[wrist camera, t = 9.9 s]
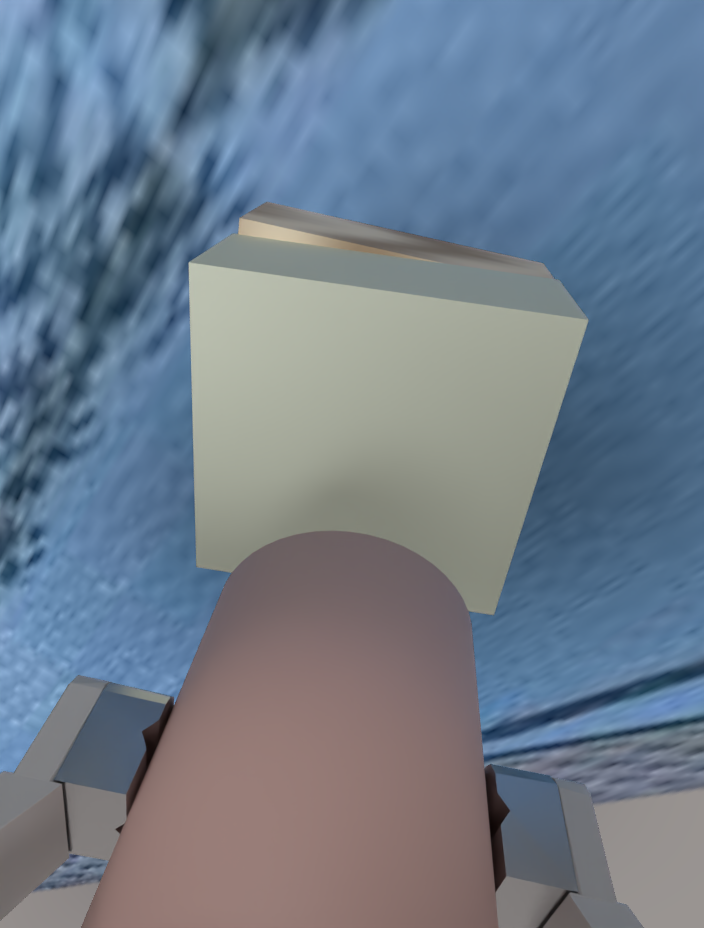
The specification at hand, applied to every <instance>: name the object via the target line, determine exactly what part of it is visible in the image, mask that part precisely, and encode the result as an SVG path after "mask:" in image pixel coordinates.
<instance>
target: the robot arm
mask: <svg viewBox="0 0 704 928" xmlns="http://www.w3.org/2000/svg"><path fill="white" fill-rule="evenodd" d="M173 707H174V697H173V696H169V695H164V694H160V693H155V692H151V691H147V690H142V689H138V688H134V687H129V686H125V685H120V684H116V683H112V682H109V681H104V680H100V679H95V678H90V677H86V676H81V675H78V676H77V677H76V678H75V679H74V680H73V681H72V682H71V683H70V684H69V685H68V686H67V688H66V690H65V691H64V693H63V694H62V696H61V698H60V699H59V701H58V702H57V704H56V706H55V707H54V709H53V710H52V712H51V714H50V715H49V717H48V718H47V720H46V722H45V723H44V725H43V727H42V728H41V730H40V731H39V733H38V735H37V736H36V738H35V739H34V741H33V743H32V744H31V746H30V747H29V749H28V751H27V752H26V754H25V755H24V757H23V759H22V760H21V762H20V764H19V765H18V767H17V768H16V770H15V772H14V773H12V772H6V771H3V772H2V773H0V921H1V920H2V919H3V918H4V917H5V916H6V915H7V914H8V913H9V912H10V911H12V909H14V907H16V906H17V905H18V904H19V903H20V902H21V901H22V900H23V899H24V898H26V897H27V896H28V895H29V894H30V893H31V892H32V891H33V890H34V889H35V888H37V887H38V886H39V885H40V884H41V883H42V882H43V881H44V880H45V879H46V878H47V877H49V876H50V875H51V874H52V873H53V872H54V871H55V870H56V869H57V868H58V867H59V866H60V865H62V864H63V863H64V862H65V861H66V860H67V859H68V858H69V853H70V854H76V855H81V856H87V857H92V858H98V859H103V860H110V857H111V855H112V852H113V850H114V848H115V845H116V843H117V841H118V838H119V836H120V833H121V831H122V829H123V826H124V824H125V821H126V819H127V817H128V814H129V812H130V810H131V807H132V805H133V802H134V800H135V798H136V795H137V793H138V790H139V788H140V786H141V783H142V781H143V779H144V776H145V774H146V771H147V769H148V767H149V764H150V762H151V759H152V757H153V755H154V752H155V750H156V748H157V745H158V743H159V740H160V738H161V736H162V733H163V731H164V728H165V726H166V724H167V721H168V719H169V717H170V714H171V712H172V709H173ZM484 770H485V781H486V792H487V804H488V815H489V826H490V837H491V849H492V860H493V871H494V882H495V894H496V905H497V916H498V927H499V928H644V927H643V926H642V925H641V923H640V922H639V921H638V919H637V918H636V916H635V915H634V914H633V912H632V911H631V910H630V909H629V907H628V906H627V905H626V904H622V903H618V902H617V900H616V896H615V892H614V888H613V884H612V880H611V876H610V872H609V868H608V864H607V860H606V856H605V851H604V847H603V843H602V839H601V835H600V831H599V827H598V823H597V819H596V815H595V811H594V807H593V803H592V799H591V795H590V792H589V790H588V789H587V787H586V786H585V785H584V784H582V783H579V782H573V781H568V780H563V779H558V778H553V777H550V776H549V775H544V774H539V773H533V772H528V771H523V770H518V769H513V768H508V767H503V766H498V765H493V764H490V765H488V766H486V767H485V769H484Z"/></svg>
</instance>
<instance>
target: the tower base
mask: <svg viewBox="0 0 704 928" xmlns="http://www.w3.org/2000/svg"><path fill="white" fill-rule="evenodd" d="M238 234H240V235H247V236H254V237H261V238H268V239H275V240H282V241H289V242H296V243H303V244H310V245H317V246H324V247H331V248H339V249H346V250H353V251H360V252H367V253H374V254H381V255H388V256H395V257H402V258H409V259H416V260H423V261H430V262H437V263H444V264H452V265H459V266H466V267H473V268H480V269H487V270H494V271H501V272H508V273H515V274H522V275H529V276H536V277H543V278H550V279H554V278H553V276H552V275H551V273H550V272H549V271H548V269H547V268H546V266H545V265H544V264H543V263H540V262H535V261H531V260H526V259H522V258H517V257H513V256H508V255H504V254H499V253H495V252H490V251H486V250H481V249H477V248H472V247H468V246H463V245H459V244H454V243H450V242H445V241H441V240H436V239H432V238H427V237H423V236H418V235H414V234H409V233H405V232H400V231H396V230H391V229H387V228H382V227H378V226H373V225H369V224H364V223H360V222H355V221H351V220H346V219H342V218H337V217H333V216H328V215H324V214H319V213H315V212H310V211H306V210H301V209H297V208H292V207H288V206H283V205H279V204H274V203H270V202H266V203H264V204H262V205H261V206H259V207H257V208H255V209H254V210H252V211H250V212H249V213H247V214H245V215H244V216H242V217H240V220H239V231H238Z"/></svg>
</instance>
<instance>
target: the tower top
mask: <svg viewBox="0 0 704 928" xmlns="http://www.w3.org/2000/svg"><path fill="white" fill-rule="evenodd" d="M189 294H190V334H191V373H192V413H193V452H194V492H195V531H196V567H200V568H206V569H212V570H218V571H224V572H231V573H232V572H233V571H234V570H235V569H236V567H237V566H238V565H239V564H240V563H241V562H242V561H243V560H244V559H246V558H247V557H248V556H249V555H251V554H252V553H253V552H255V551H257V550H258V549H260V548H262V547H263V546H265V545H267V544H270V543H272V542H274V541H277V540H279V539H282V538H285V537H289V536H292V535H296V534H302V533H308V532H315V531H347V532H355V533H361V534H367V535H371V536H375V537H379V538H382V539H386V540H389V541H391V542H394V543H396V544H399V545H401V546H404V547H406V548H408V549H410V550H411V551H413V552H415V553H417V554H419V555H420V556H422V557H423V558H425V559H426V560H428V561H429V562H431V563H432V564H433V565H435V566H436V567H437V568H438V569H439V570H440V571H441V572H442V573H444V574H445V575H446V576H447V578H448V579H449V580H450V581H451V582H452V583H453V585H454V586H455V587H456V589H457V590H458V592H459V593H460V595H461V596H462V598H463V600H464V602H465V605H466V607H467V609H468V611H471V612H477V613H483V614H489V615H494V613H495V610H496V607H497V604H498V600H499V597H500V594H501V591H502V588H503V585H504V582H505V579H506V576H507V572H508V569H509V566H510V563H511V560H512V557H513V554H514V551H515V548H516V544H517V541H518V538H519V535H520V532H521V529H522V526H523V523H524V520H525V516H526V513H527V510H528V507H529V504H530V501H531V498H532V495H533V492H534V488H535V485H536V482H537V479H538V476H539V473H540V470H541V467H542V464H543V460H544V457H545V454H546V451H547V448H548V445H549V442H550V439H551V436H552V432H553V429H554V426H555V423H556V420H557V417H558V414H559V411H560V408H561V404H562V401H563V398H564V395H565V392H566V389H567V386H568V383H569V380H570V376H571V373H572V370H573V367H574V364H575V361H576V358H577V355H578V352H579V348H580V345H581V342H582V339H583V336H584V333H585V330H586V327H587V324H588V318H587V317H586V316H585V314H584V313H583V312H582V310H581V309H580V308H579V306H578V305H577V303H576V302H575V301H574V299H573V298H572V297H571V295H570V294H569V293H568V291H567V290H566V289H565V287H564V286H563V284H562V283H561V282H560V280H557V279H550V278H543V277H536V276H529V275H522V274H515V273H508V272H501V271H494V270H487V269H480V268H473V267H466V266H459V265H452V264H444V263H437V262H430V261H423V260H416V259H409V258H402V257H395V256H388V255H381V254H374V253H367V252H360V251H353V250H346V249H339V248H331V247H324V246H317V245H310V244H303V243H296V242H289V241H282V240H275V239H268V238H261V237H254V236H247V235H240V234H231V235H230V236H228V237H227V238H225V239H224V240H222V241H221V242H219V243H218V244H216V245H215V246H213V247H212V248H210V249H209V250H207V251H205V252H204V253H202V254H201V255H199V256H198V257H196V258H195V259H193V260H192V261H190V262H189Z"/></svg>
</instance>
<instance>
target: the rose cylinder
mask: <svg viewBox="0 0 704 928" xmlns="http://www.w3.org/2000/svg"><path fill="white" fill-rule="evenodd" d="M81 928H499V927H498V916H497V905H496V894H495V882H494V871H493V860H492V849H491V837H490V826H489V815H488V804H487V792H486V781H485V770H484V759H483V748H482V736H481V725H480V714H479V703H478V691H477V680H476V669H475V658H474V646H473V635H472V624H471V620H470V616H469V612H468V609H467V607H466V605H465V602H464V600H463V598H462V596H461V595H460V593H459V592H458V590H457V589H456V587H455V586H454V585H453V583H452V582H451V581H450V580H449V579H448V578H447V576H446V575H445V574H444V573H442V572H441V571H440V570H439V569H438V568H437V567H436V566H435V565H433V564H432V563H431V562H429V561H428V560H426V559H425V558H423V557H422V556H420V555H419V554H417V553H415V552H413V551H411V550H410V549H408V548H406V547H404V546H401V545H399V544H396V543H394V542H391V541H389V540H386V539H382V538H379V537H375V536H371V535H367V534H361V533H355V532H347V531H315V532H308V533H302V534H296V535H292V536H289V537H285V538H282V539H279V540H277V541H274V542H272V543H270V544H267V545H265V546H263V547H262V548H260V549H258V550H257V551H255V552H253V553H252V554H251V555H249V556H248V557H247V558H246V559H244V560H243V561H242V562H241V563H240V564H239V565H238V566H237V567H236V569H235V570H234V571H233V572H232V573H231V575H230V577H229V578H228V580H227V581H226V583H225V585H224V588H223V590H222V593H221V595H220V597H219V600H218V602H217V605H216V607H215V609H214V612H213V614H212V616H211V619H210V621H209V624H208V626H207V628H206V631H205V633H204V635H203V638H202V640H201V643H200V645H199V647H198V650H197V652H196V655H195V657H194V659H193V662H192V664H191V666H190V669H189V671H188V674H187V676H186V678H185V681H184V683H183V686H182V688H181V690H180V693H179V695H178V697H177V700H176V702H175V705H174V707H173V709H172V712H171V714H170V717H169V719H168V721H167V724H166V726H165V728H164V731H163V733H162V736H161V738H160V740H159V743H158V745H157V748H156V750H155V752H154V755H153V757H152V759H151V762H150V764H149V767H148V769H147V771H146V774H145V776H144V779H143V781H142V783H141V786H140V788H139V790H138V793H137V795H136V798H135V800H134V802H133V805H132V807H131V810H130V812H129V814H128V817H127V819H126V821H125V824H124V826H123V829H122V831H121V833H120V836H119V838H118V841H117V843H116V845H115V848H114V850H113V852H112V855H111V857H110V860H109V862H108V864H107V867H106V869H105V872H104V874H103V876H102V879H101V881H100V883H99V886H98V888H97V891H96V893H95V895H94V898H93V900H92V903H91V905H90V907H89V910H88V912H87V914H86V917H85V919H84V922H83V924H82V926H81Z"/></svg>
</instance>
